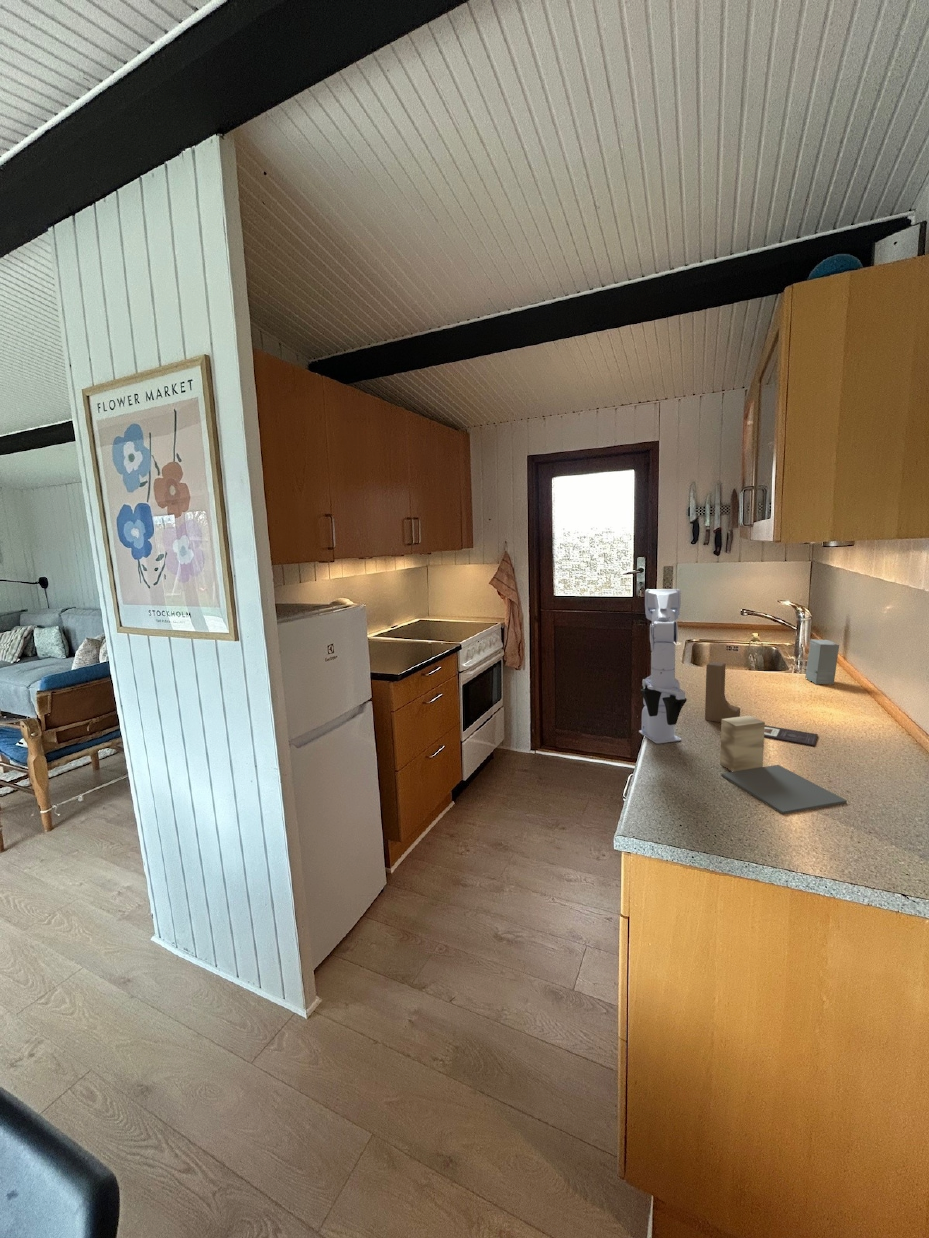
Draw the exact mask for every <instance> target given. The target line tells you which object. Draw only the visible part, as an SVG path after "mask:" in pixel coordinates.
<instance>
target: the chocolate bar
mask: <svg viewBox="0 0 929 1238" xmlns="http://www.w3.org/2000/svg"><path fill="white" fill-rule="evenodd" d="M764 739H769V740H774V741H781V742H786V743H791V744H796V745H797V744H798V745H802V746H808V747H813V748H815V746H816V744H817V743H816V741H817V739H818V733H813V732H807V731H800V730H795V729H791V728H789V729H788V728H783V727H776V726H771V725H767V724H765V729H764Z"/></svg>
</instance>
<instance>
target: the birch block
mask: <svg viewBox="0 0 929 1238" xmlns="http://www.w3.org/2000/svg"><path fill="white" fill-rule="evenodd" d="M765 723H766V722H765V721H763V720H761V719H758V718H756V717H754V716H752V715H742V716H741V715H740V717H733V718H726V719H722V722H721V723H720V724H721V725H720V726H721V729H720V752H719V753H720V757H719V765H720V764H721V765H720V766H722V767H724V768H725V767H726V768H725V769H727V768H728V769H727V770H729V771H730V770H731V771H730V772H732V771H733V772H734V771H741V770H747V769H754V768H760V767H764V765H763V764H764V744H765V738H764V729H765V725H766V724H765Z"/></svg>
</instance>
